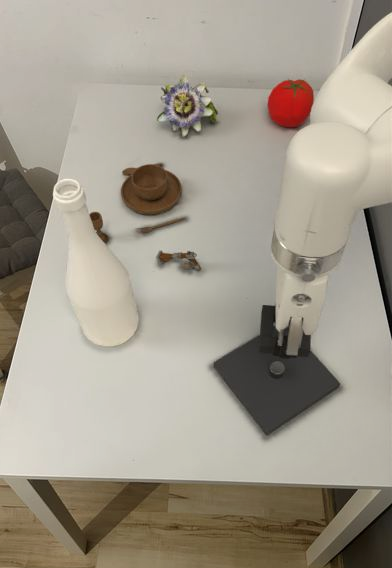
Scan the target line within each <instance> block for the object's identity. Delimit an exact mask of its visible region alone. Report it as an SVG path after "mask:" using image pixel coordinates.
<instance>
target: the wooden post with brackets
mask: <svg viewBox="0 0 392 568" xmlns="http://www.w3.org/2000/svg"><path fill="white" fill-rule="evenodd" d="M197 256H198V253H196V252H195V251H190V250H187V252H182V251H180V252H173V253H167V252H164V251H163V250H161V249H159V251H158V252H157V254H156V256H155V258H156V260H157V262H158V263H159V265H162V264H163V263H164V262H167V261H170V260H173V261H182V260H187V261H188V262H186V261H184V263H182V264H181V267H182V268H184V270H187V269H188V270H191V269H192V268H195V269H196V271H197V272H201V270H202V267H201V264H200V262H198V261H197V259H196V257H197Z"/></svg>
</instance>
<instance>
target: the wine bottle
mask: <svg viewBox="0 0 392 568" xmlns="http://www.w3.org/2000/svg"><path fill="white" fill-rule="evenodd" d="M52 197H53V200H54V202H55V206H56V208H57V209H58V210H60V214H61V217H62V220H63V223H64V226H65V229H66V232H67V236H68V239H69V240H68V242H69V243H68V244H69V245H68V246H69V247H68V255H67V263H66V264H67V265H66V271H65V291H66V294H67V297H68V300H69V302H70V304H71V307H72V309H73V312H74V313H75V316H76V319H77V320H78V323H79V325H80V328H81V330H82V332H83V334H84V336H85V337H86V338H87V339H88V340H89V341H90V342H92V343H93V344H95V345H97V346H100V347H108V348H111V347H117V346H120V345H123V344H124V343H126V342H128V341H129V340H130V339H131V338H132V337H133V336H134V334H135V333H136V332H137V329H138V327H139V321H140V317H139V312H138V307H137V303H136V299H135V295H134V290H133V286H132V281H131V277H130V274H129V271H128V269H127V268H126V266H125V265H124V264H123V263H122V261H121V259H119V257H118V256H116V254H115V253H114V252H113V250H111V249H110V248H109V246H108V245H107V243H104V242H103V241H102V240H101V239H100V237H99V236H98V235H97V233H96V232H97V231H96V230H94V227H93V224H92V221H91V218H90V215H89V214H90V212H89V208H88V206H87V203H86V202H87V196H86V192H85V188H84V186H83V185H82V184H81V183H80V182H79V181H78V180H76V179H74V178H63V179H61V180H59V181H57V182H56V183H55V184H54V186H53V191H52Z"/></svg>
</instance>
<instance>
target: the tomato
mask: <svg viewBox="0 0 392 568" xmlns="http://www.w3.org/2000/svg"><path fill="white" fill-rule="evenodd" d="M305 79H306V78H304V79H300V78H298V79H296V80H292V79H289V78H287V80H283V81H281V82H279V83H278V84H276V86H275V87H273V89H272V90H271V92H270V93H269V95H268V98H267V104H266V105H267V110H268V114H269V117H270V119H271V121H273V122H274V123H276V124H277V125H278V126H281V127H284V128H296V127H298V126H300V125H302V124H303V123H304V122H305V121H306V120H307V119H308V118H309V117H310V114H311V109H312V105H313V103H314V100H315V98H314V97H315V96H314V89H313V88H312V86H311V85H310V84H309V82H307V81H306V80H305Z"/></svg>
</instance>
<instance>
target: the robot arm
mask: <svg viewBox="0 0 392 568" xmlns="http://www.w3.org/2000/svg"><path fill="white" fill-rule="evenodd" d="M391 80H392V11H391V12H390V13H388V14H387V15H385V16H384V17H383V18H381V19H380V20H379V21H378V22H377V23H375V24H374V25H373V26H372V27H371V28H370V29H369V30H368V31H367V32H366V33H365V34H364V35H363V36H362V38H360V39H359V40H358V42H357V43H356V44H355V45H354V46H353V47H352V48H351V50H349V52H348V53H347V54H346V56H345V57H344V58H343V59H342V60H341V61H340V62H339V64H338V65H337V66H336V67H335V68H334V69H333V70H332V71H331V73H330V74H329V76H328V77H327V79H325V81H324V83H322V86H321V87H320V88H319V90H318V92H317V94H316V96H315V98H314V101H313V105H312V109H311V112H310V114H309V124H307V125H306V126H304V127H302V128H301V129H300V130H298V131H297V132H296V133H295V134H294V135H293V137H292V138H291V140H290V142H289V144H288V146H287V148H286V152H285V156H284V162H283V169H282V175H281V181H280V188H279V192H278V193H279V194H278V200H277V207H276V213H275V218H274V224H273V231H272V236H271V243H270V255H271V257H272V260H273V262H274V263H275V265H276V266H277V271H276V282H275V303H274V306H276V323H275V325H276V329H277V330H278V331H279V336H278V337H276V339H275V344H274V348H273V356H279V357H280V358H283V359H290V358H296V357H297V355H298V352H299V349H300V346H301V343H302V335H303V331H304V333H305V335H311V336H313V335H315V333H316V332H317V329H318V325H319V322H320V318H321V314H322V311H323V308H324V303H325V300H326V299H325V298H326V294H327V290H328V284H329V278H330V274H331V273H332V272H333V271H335V270H336V268H337V267H338V266H339V264H340V262H341V260H342V257H343V254H344V251H345V248H346V245H347V243H348V240H349V237H350V233H351V231H352V228H353V226H354V222H355V220H356V216H357V214H358V213H359V212H360V211H361V210H365V209H368V208H372V207H373V208H374V207H377V206H378V207H379V206H383V205H387V204H392V85H391V84H390V83H389V82H390V81H391ZM289 320H290V322H289ZM285 330H289V333H288V336H285V335H284V331H285Z"/></svg>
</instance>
